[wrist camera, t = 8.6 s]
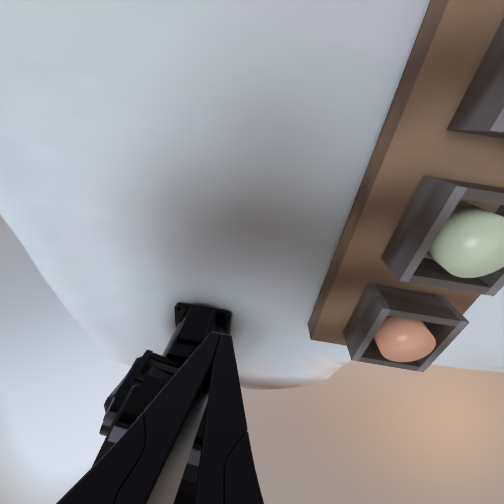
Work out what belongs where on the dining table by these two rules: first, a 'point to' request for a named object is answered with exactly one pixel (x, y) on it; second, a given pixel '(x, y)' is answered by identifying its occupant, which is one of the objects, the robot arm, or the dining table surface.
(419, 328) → the terracotta button
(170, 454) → the robot arm
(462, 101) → the button panel
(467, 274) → the sage button
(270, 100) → the dining table surface
